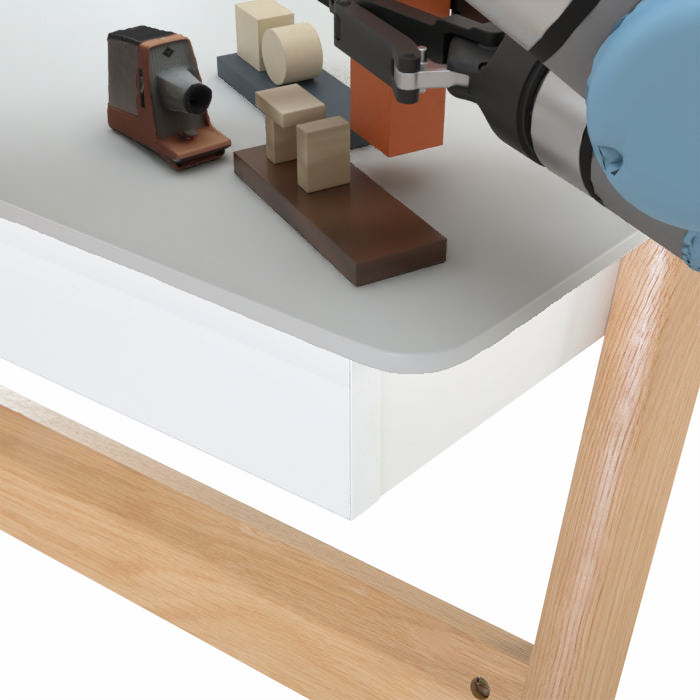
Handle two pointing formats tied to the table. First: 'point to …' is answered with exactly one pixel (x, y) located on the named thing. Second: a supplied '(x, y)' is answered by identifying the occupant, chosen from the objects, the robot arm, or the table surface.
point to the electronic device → (161, 96)
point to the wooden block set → (281, 59)
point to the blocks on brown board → (332, 192)
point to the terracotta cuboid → (397, 105)
